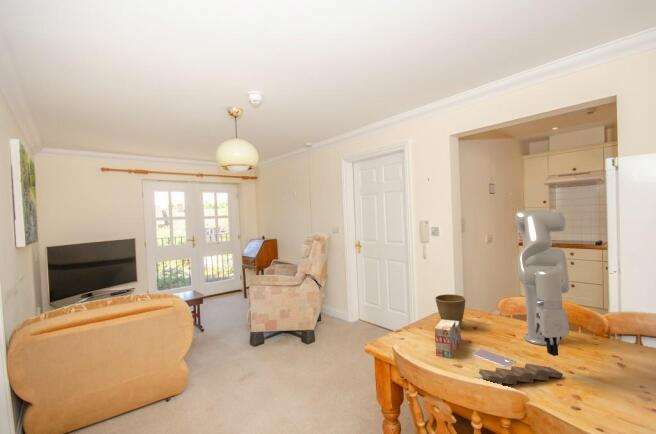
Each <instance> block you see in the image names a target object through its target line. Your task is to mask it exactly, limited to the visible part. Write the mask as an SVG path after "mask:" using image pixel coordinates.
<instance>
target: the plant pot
mask: <svg viewBox="0 0 656 434" xmlns="http://www.w3.org/2000/svg"><path fill="white" fill-rule="evenodd" d="M434 297H435V298H434V299H435V303H436V308H437V311H438V313H439V317H440V321H441V320H442V319H443V320H452V321H460V327H462V324H463V323H462V322H463V318H464V315H465V308H466V307H465V306H466V297H465V296H464V295H463V296H462V295H460V294H452V293H451V294H447V293H446V294H439V295H437V296H434Z"/></svg>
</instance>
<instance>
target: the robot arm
mask: <svg viewBox="0 0 656 434" xmlns="http://www.w3.org/2000/svg"><path fill="white" fill-rule="evenodd" d="M514 221H515V226H516V228H517V230H518V232H519V234H520V237H521V239H522V249H521V251H520V252H519V254H518V256H517V270H518V277H519V281H520V282H521V284H522V285H523V289H524V297H525V307H526V309H525V310H526V323H527V324H526V325H527V327H526V328H527V333H525V334H524V340H525V341H527V342H529V343H531V344H534V345H539V346H546V351H547V353H548V354H549V355H551V356H553V357H556V356H559V346H558V345H560V343H561V340H562V339H564V338H566V337H567V336H569V335H570V326H569V325H570V324H569V319H568V314H567V311H566V308H565V307H564V306H563V294H566V293H568V292H569V290H570V279H569V277H570V276H569V269H568V261H567V256H566V253H565V251H564V250H563V249H562V248H560V247H552V246H553V240H552V237H551V233H552V232H553V233H554V232H555V233H556V232H563V231H565V229H566V227H567V221H566V218H565V216H564V214H563V213H562V212H561V210H559V209H557V208H540V209H536V208H535V209H524V210H519V211H517V212H515V215H514Z"/></svg>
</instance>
